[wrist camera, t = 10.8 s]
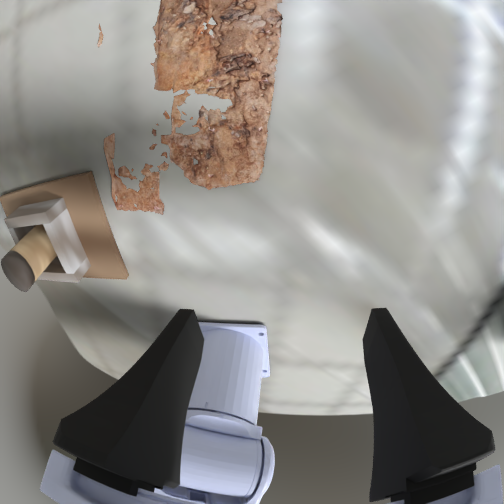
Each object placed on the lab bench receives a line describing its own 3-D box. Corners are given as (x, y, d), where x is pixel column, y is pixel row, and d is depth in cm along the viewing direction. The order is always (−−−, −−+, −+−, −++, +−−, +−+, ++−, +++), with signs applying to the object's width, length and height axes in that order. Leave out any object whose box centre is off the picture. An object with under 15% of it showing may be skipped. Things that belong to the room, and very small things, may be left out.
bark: (270, 217, 19) (270, 221, 19) (119, 210, 20) (115, 214, 20) (278, -83, 7) (277, -87, 6) (107, -52, 8) (103, -54, 7)
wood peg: (71, 249, 22) (35, 293, 17) (48, 250, 23) (14, 290, 18) (57, 216, 20) (14, 257, 15) (35, 219, 21) (-4, 257, 16)
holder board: (128, 275, 24) (115, 298, 21) (37, 270, 26) (23, 287, 23) (91, 171, 18) (68, 188, 16) (2, 195, 20) (-16, 209, 18)
